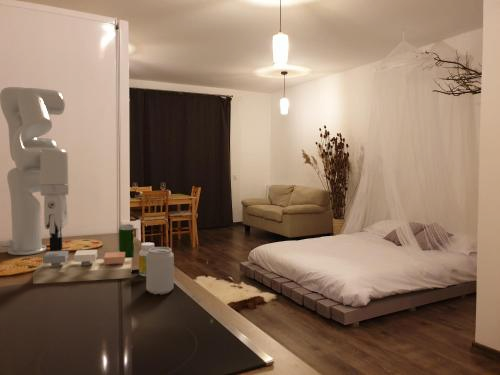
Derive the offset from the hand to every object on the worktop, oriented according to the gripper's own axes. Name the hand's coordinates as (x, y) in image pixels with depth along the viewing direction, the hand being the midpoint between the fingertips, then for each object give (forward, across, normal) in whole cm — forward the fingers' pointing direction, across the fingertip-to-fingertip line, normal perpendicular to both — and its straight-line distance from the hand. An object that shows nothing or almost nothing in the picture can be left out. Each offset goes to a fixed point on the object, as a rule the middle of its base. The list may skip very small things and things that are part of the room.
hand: (56, 250), depth 120 cm
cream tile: (+5, 0, -8) cm, 10 cm away
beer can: (+8, +16, -20) cm, 27 cm away
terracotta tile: (+6, 0, -17) cm, 18 cm away
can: (+9, -19, -30) cm, 36 cm away
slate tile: (+5, 0, 0) cm, 5 cm away
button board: (+8, 0, -8) cm, 12 cm away
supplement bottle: (+9, -3, -27) cm, 28 cm away
